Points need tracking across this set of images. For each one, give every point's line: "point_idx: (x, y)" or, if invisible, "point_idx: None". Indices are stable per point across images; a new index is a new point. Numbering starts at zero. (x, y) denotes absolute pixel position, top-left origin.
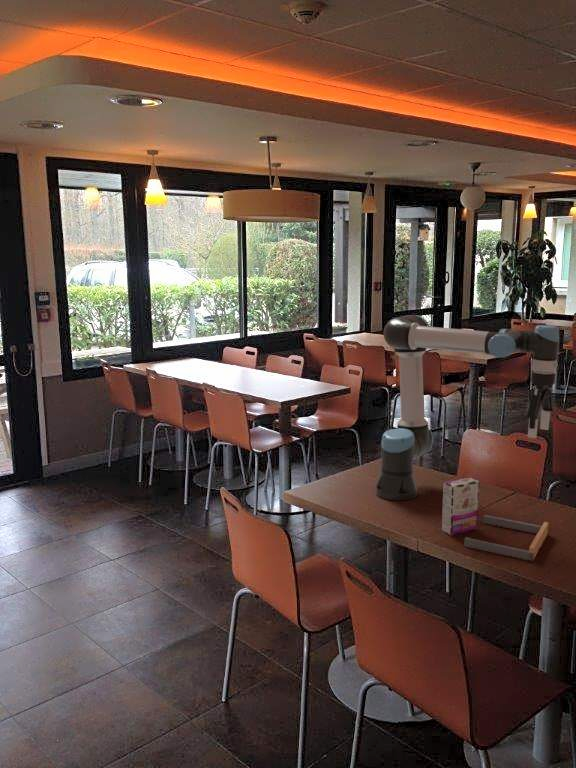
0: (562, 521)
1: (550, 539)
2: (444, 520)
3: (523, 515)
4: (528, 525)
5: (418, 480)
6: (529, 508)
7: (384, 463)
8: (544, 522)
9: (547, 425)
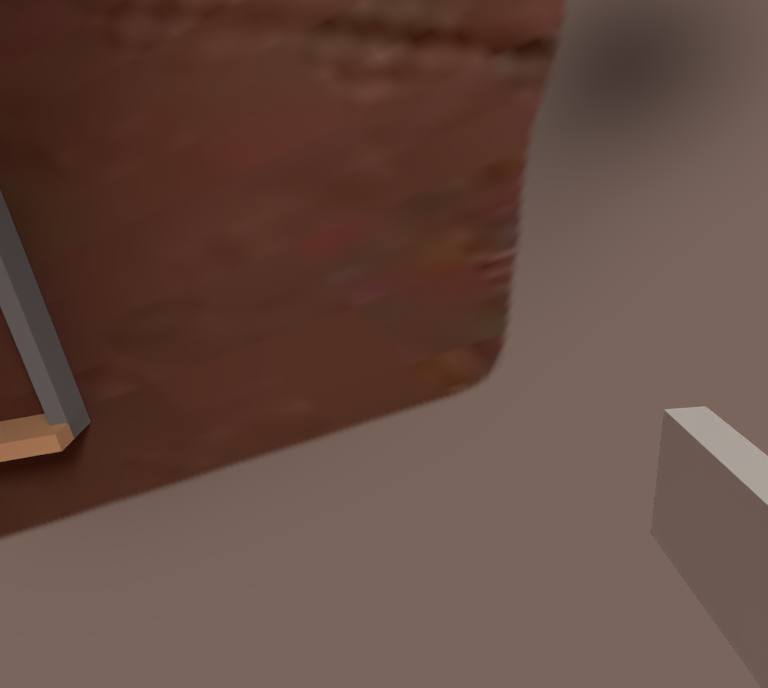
0: (294, 416)
1: None
2: None
3: (229, 248)
4: (25, 361)
5: None
6: (351, 232)
7: None
8: (47, 437)
9: (700, 582)
